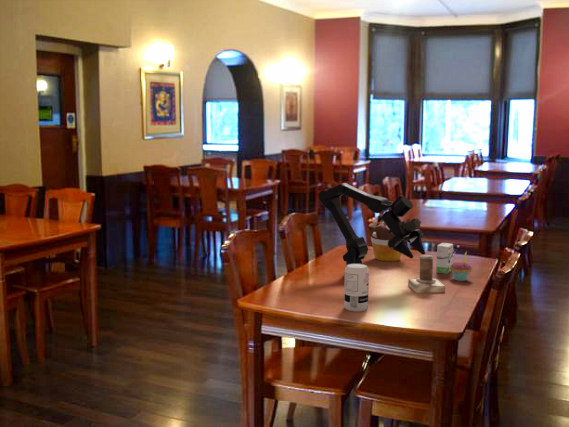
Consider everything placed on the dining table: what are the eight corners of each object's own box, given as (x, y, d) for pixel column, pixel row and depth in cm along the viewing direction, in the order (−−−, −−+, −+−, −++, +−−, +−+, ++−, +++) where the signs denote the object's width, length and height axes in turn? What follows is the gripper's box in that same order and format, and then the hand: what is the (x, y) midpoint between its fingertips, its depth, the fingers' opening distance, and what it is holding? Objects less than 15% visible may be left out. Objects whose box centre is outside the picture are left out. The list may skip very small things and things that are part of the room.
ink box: (447, 274, 267) (448, 246, 266) (435, 272, 270) (436, 245, 268) (452, 270, 275) (453, 243, 273) (441, 268, 277) (442, 242, 276)
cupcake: (471, 277, 261) (472, 249, 260) (470, 282, 253) (471, 253, 252) (450, 276, 264) (451, 247, 262) (448, 281, 256) (449, 251, 254)
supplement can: (341, 305, 221) (342, 263, 219) (365, 305, 222) (366, 263, 220) (346, 312, 213) (347, 268, 211) (370, 312, 214) (371, 268, 212)
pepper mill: (425, 283, 241) (425, 257, 240) (416, 281, 246) (416, 255, 244) (435, 282, 244) (436, 256, 242) (426, 279, 248) (427, 254, 247)
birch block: (416, 293, 239) (416, 286, 238) (408, 286, 250) (408, 278, 249) (444, 293, 240) (445, 285, 239) (435, 285, 251) (435, 278, 250)
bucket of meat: (364, 261, 291) (365, 218, 288) (370, 254, 307) (372, 213, 304) (408, 264, 285) (409, 220, 282) (412, 257, 300) (414, 215, 297)
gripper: (395, 214, 239) (420, 247, 234) (420, 209, 253) (444, 240, 248) (377, 232, 245) (400, 264, 240) (401, 226, 259) (424, 256, 254)
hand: (418, 255), depth 245 cm, fingers open, 9 cm apart
